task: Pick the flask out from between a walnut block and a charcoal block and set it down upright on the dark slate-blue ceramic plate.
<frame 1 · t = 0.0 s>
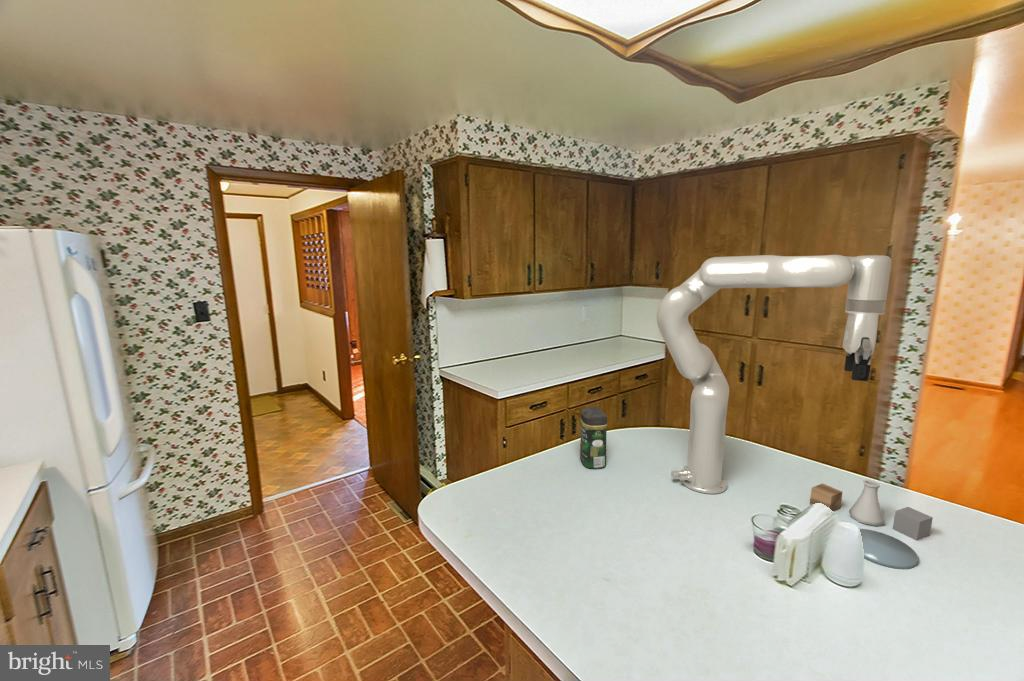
hand: (855, 375, 110), 37 cm above the countertop, tool pointing down, fingers open, 9 cm apart
slate plate: (879, 549, 101), on the countertop
walnut block: (824, 506, 119), on the countertop
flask: (866, 519, 113), on the countertop
charcoal block: (910, 532, 108), on the countertop
coffee jar: (592, 463, 146), on the countertop
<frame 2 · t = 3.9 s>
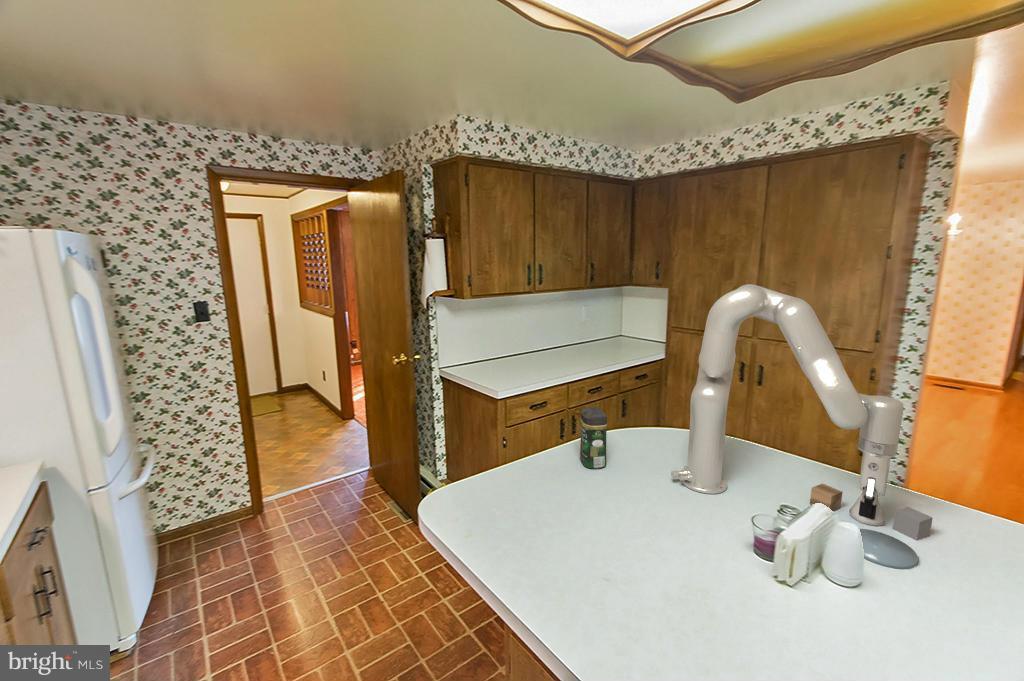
hand: (867, 511, 113), 2 cm above the countertop, tool pointing down, fingers closed on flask, 5 cm apart
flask: (866, 519, 113), on the countertop, touching gripper
everything else where it was.
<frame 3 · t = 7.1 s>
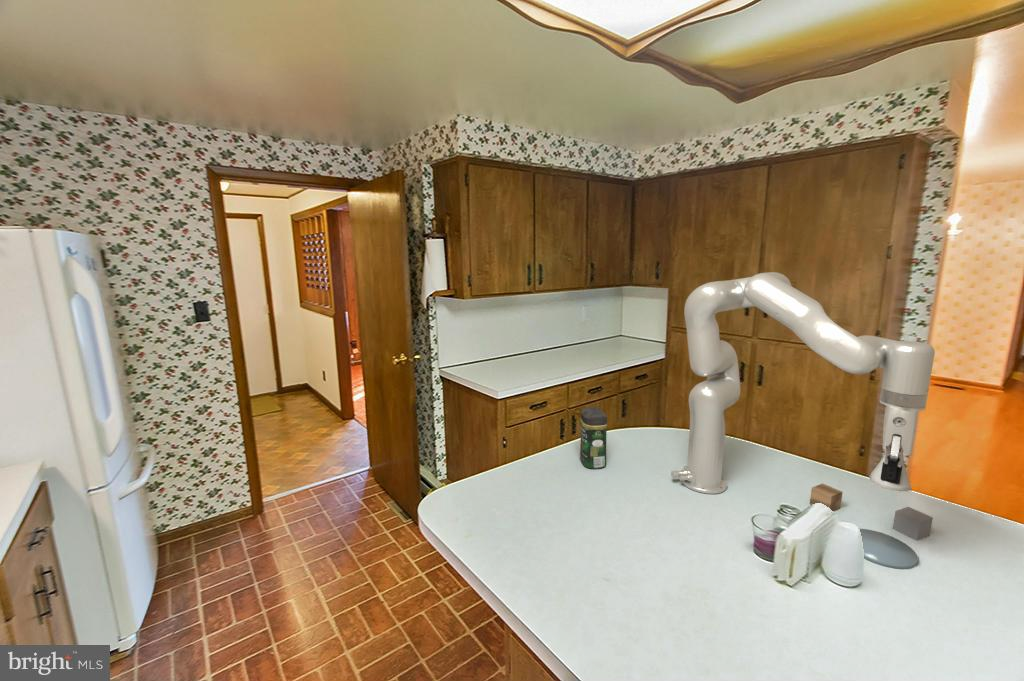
hand: (890, 475, 98), 18 cm above the countertop, tool pointing down, fingers closed on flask, 5 cm apart
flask: (889, 485, 98), point 16 cm above the countertop, touching gripper
everything else where it was.
when the fingers open (4 cm above the countertop, at t = 10.3 s): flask drops 1 cm, resting on slate plate.
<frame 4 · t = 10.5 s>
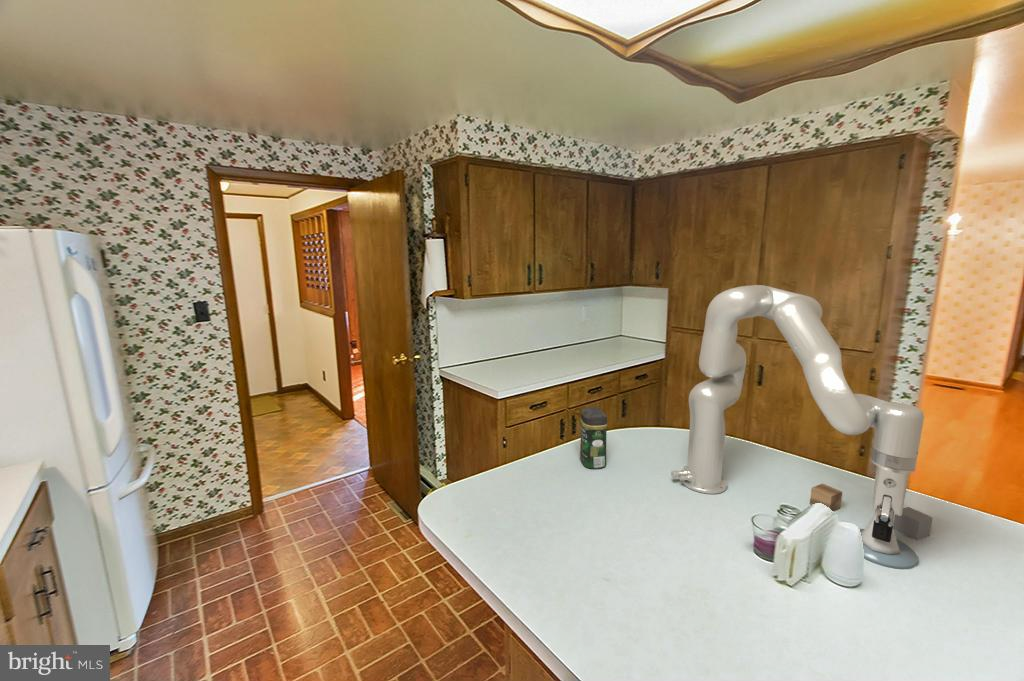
hand: (881, 531, 101), 5 cm above the countertop, tool pointing down, fingers open, 6 cm apart
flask: (878, 546, 101), point 1 cm above the countertop, touching slate plate
everything else where it was.
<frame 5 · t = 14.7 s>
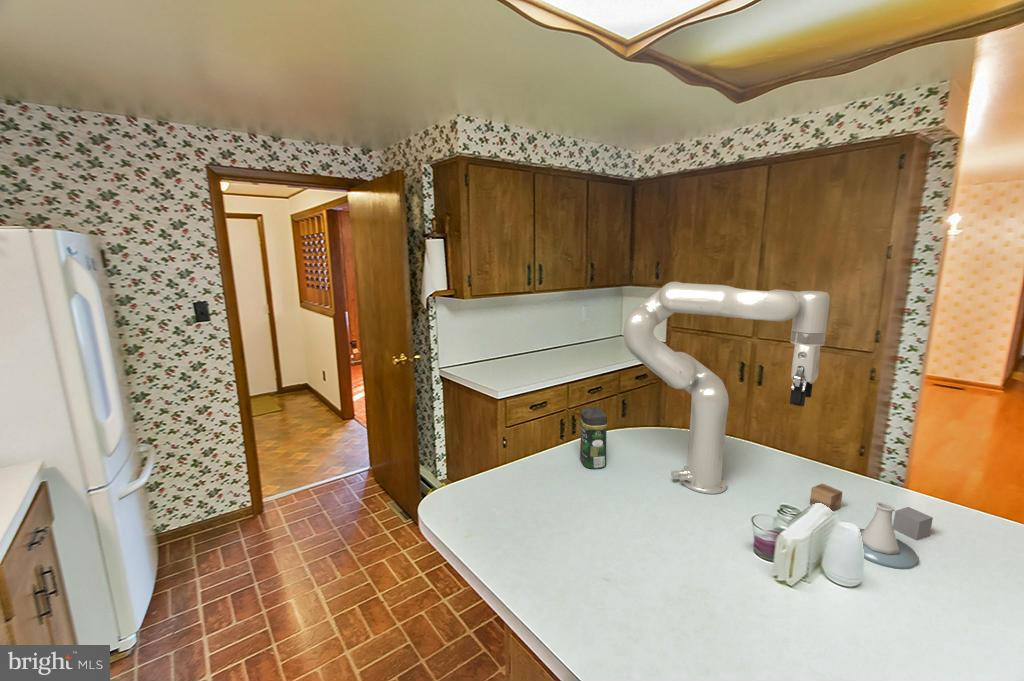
hand: (800, 400, 119), 28 cm above the countertop, tool pointing down, fingers open, 9 cm apart
nothing on the countertop moved.
at the end: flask inside the target area on the slate plate (0.1 cm from its centre), point 0.8 cm above the slate plate's base; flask tilted 0°; the gripper is holding nothing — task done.
